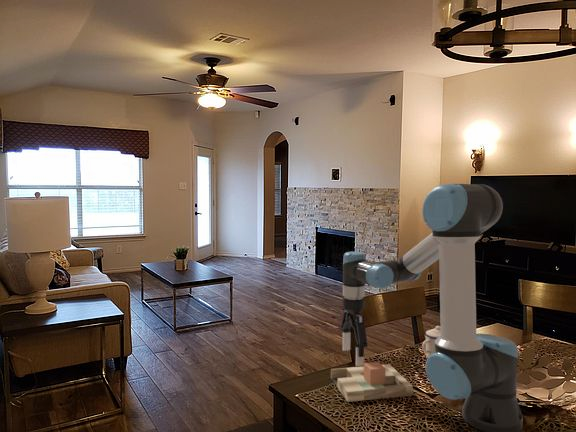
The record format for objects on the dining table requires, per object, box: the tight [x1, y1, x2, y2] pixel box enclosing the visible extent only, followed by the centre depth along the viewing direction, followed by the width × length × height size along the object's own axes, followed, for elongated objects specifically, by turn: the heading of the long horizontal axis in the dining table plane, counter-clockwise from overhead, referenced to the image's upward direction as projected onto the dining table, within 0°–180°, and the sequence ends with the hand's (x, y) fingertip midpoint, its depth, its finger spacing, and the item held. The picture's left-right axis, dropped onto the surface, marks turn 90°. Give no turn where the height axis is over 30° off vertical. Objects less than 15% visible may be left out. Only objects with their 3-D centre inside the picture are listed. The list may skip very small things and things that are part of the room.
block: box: [363, 361, 385, 385], centre depth 138 cm, size 5×5×5 cm
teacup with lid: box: [421, 325, 441, 359], centre depth 165 cm, size 12×9×12 cm
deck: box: [330, 363, 414, 403], centre depth 141 cm, size 17×21×3 cm
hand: (352, 357), depth 152 cm, fingers open, 13 cm apart
